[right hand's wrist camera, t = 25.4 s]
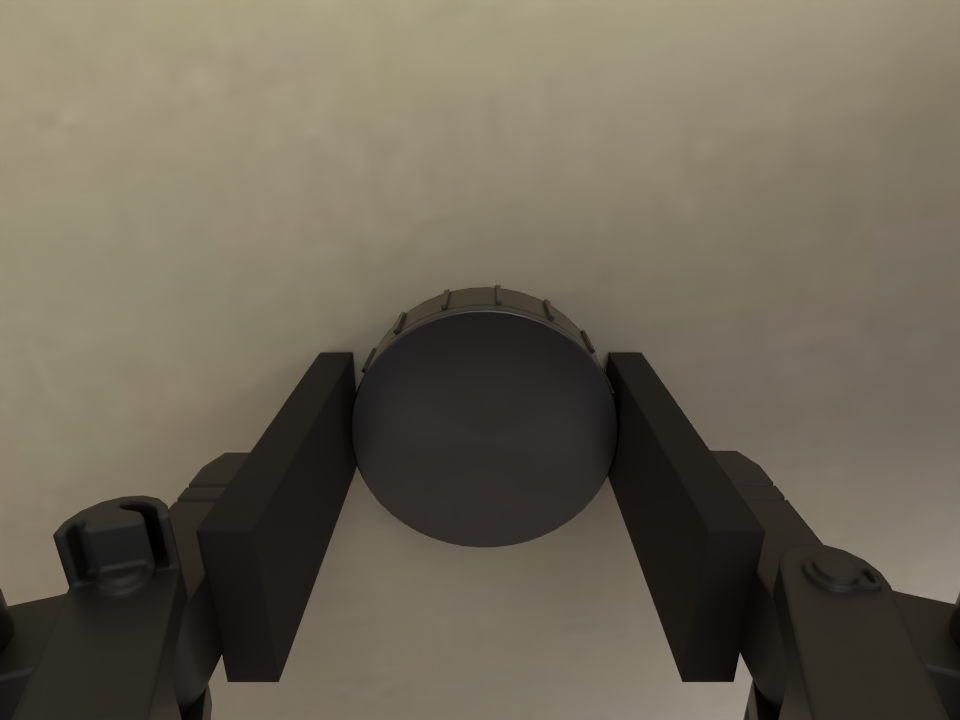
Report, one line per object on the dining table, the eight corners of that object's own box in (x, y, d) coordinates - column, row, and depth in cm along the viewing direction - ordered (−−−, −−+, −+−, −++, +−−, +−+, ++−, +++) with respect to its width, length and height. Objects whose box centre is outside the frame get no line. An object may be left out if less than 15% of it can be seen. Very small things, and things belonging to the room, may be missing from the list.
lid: (344, 297, 14) (325, 321, 12) (602, 274, 13) (619, 295, 12) (384, 511, 16) (371, 557, 14) (607, 495, 15) (621, 539, 14)
